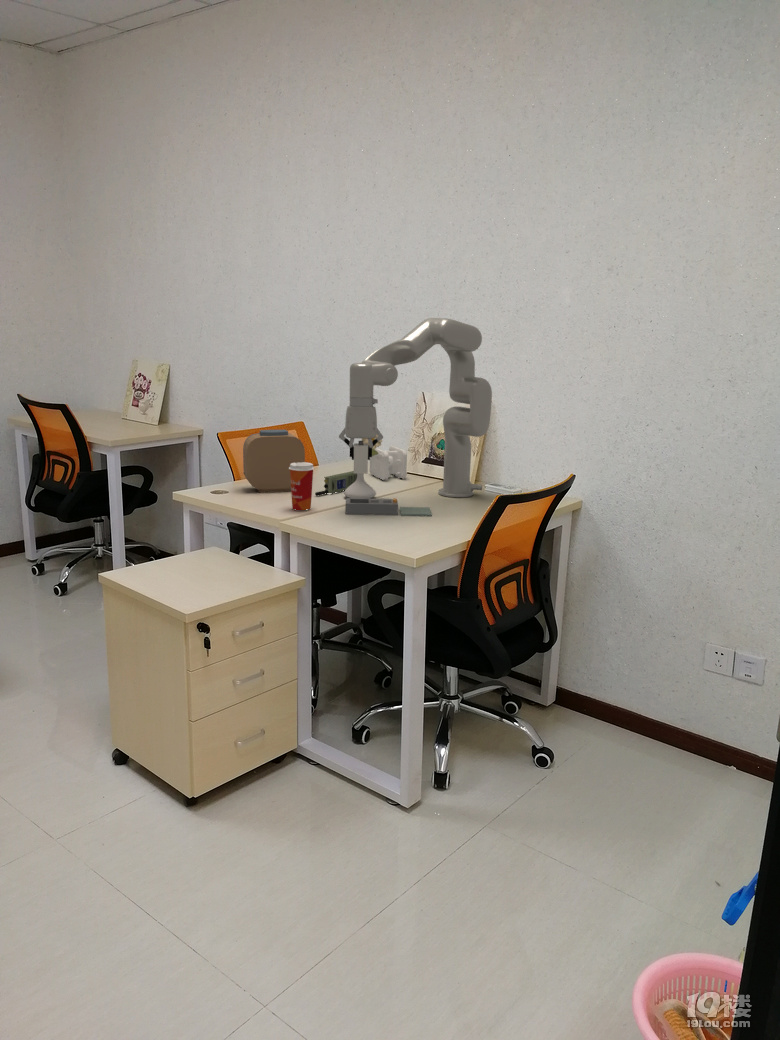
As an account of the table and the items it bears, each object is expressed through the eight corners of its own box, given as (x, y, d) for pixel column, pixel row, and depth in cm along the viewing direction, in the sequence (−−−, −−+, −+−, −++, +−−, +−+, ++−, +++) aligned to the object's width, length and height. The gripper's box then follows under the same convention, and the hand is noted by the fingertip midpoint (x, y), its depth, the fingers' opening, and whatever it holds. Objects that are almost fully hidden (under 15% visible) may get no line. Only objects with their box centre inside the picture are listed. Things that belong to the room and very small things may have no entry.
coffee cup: (285, 506, 276) (285, 462, 272) (309, 505, 279) (309, 461, 275) (293, 512, 268) (293, 467, 265) (317, 511, 272) (317, 465, 268)
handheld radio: (365, 487, 310) (320, 498, 291) (358, 486, 312) (313, 497, 293) (364, 470, 309) (319, 479, 289) (358, 469, 311) (312, 478, 291)
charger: (367, 470, 272) (367, 439, 269) (367, 473, 267) (368, 442, 265) (353, 470, 271) (354, 439, 269) (353, 473, 267) (353, 442, 265)
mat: (429, 509, 278) (429, 507, 278) (431, 516, 269) (432, 514, 268) (399, 508, 278) (399, 506, 278) (401, 515, 268) (401, 514, 268)
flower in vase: (345, 501, 285) (346, 429, 279) (342, 494, 296) (343, 424, 290) (383, 501, 287) (384, 429, 281) (378, 494, 298) (380, 424, 292)
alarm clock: (299, 485, 309) (299, 427, 304) (304, 491, 300) (304, 431, 295) (243, 488, 302) (242, 429, 297) (247, 493, 294) (246, 432, 288)
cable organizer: (407, 480, 324) (408, 451, 321) (382, 482, 319) (383, 452, 316) (391, 473, 337) (392, 445, 334) (367, 475, 333) (368, 446, 330)
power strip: (396, 509, 277) (397, 496, 276) (397, 515, 269) (398, 502, 268) (345, 508, 276) (345, 495, 275) (345, 514, 268) (345, 501, 267)
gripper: (387, 401, 268) (386, 457, 272) (335, 400, 267) (334, 456, 272) (388, 404, 260) (387, 461, 265) (334, 403, 260) (334, 461, 264)
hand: (360, 458), depth 268 cm, fingers closed on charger, 4 cm apart
